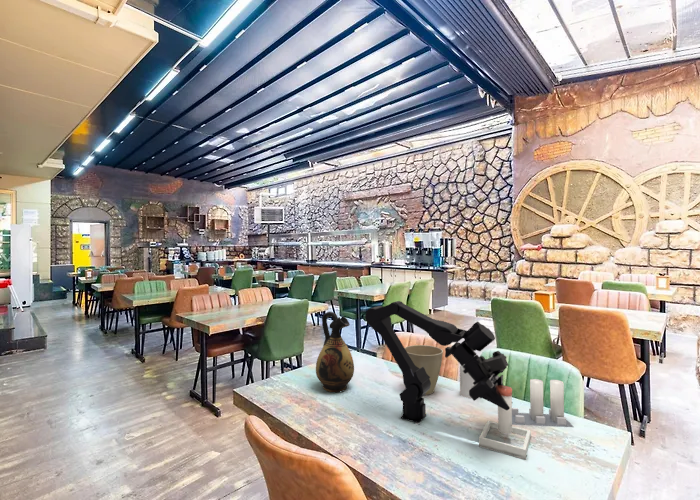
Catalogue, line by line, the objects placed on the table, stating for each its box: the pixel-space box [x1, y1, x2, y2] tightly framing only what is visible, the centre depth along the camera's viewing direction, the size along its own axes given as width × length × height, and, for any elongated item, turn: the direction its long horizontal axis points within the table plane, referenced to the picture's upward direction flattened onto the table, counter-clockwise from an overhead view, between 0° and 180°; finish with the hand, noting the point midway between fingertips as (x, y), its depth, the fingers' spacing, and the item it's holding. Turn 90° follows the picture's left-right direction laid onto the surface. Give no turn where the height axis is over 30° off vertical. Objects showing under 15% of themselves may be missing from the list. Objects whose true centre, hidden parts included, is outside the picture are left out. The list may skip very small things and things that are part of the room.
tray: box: [478, 420, 532, 460], centre depth 99 cm, size 12×12×2 cm
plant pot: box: [404, 344, 444, 396], centre depth 136 cm, size 15×15×16 cm
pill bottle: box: [459, 364, 481, 399], centre depth 130 cm, size 8×8×15 cm
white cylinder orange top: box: [497, 384, 513, 435], centre depth 99 cm, size 4×4×12 cm
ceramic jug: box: [315, 311, 355, 393], centre depth 141 cm, size 17×15×30 cm
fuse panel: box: [512, 378, 575, 428], centre depth 110 cm, size 19×8×13 cm, turn 83°
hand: (509, 406), depth 98 cm, fingers closed on white cylinder orange top, 4 cm apart
